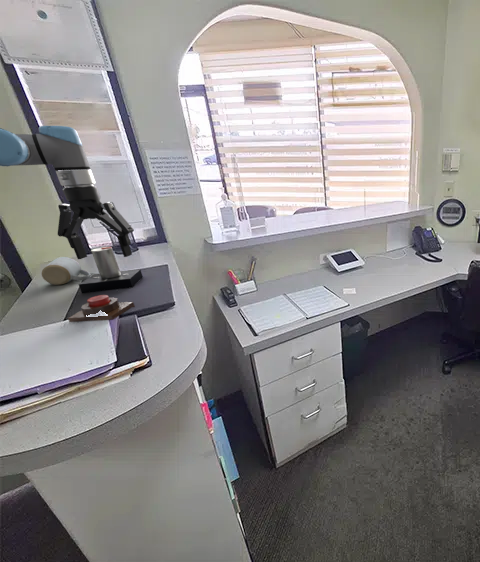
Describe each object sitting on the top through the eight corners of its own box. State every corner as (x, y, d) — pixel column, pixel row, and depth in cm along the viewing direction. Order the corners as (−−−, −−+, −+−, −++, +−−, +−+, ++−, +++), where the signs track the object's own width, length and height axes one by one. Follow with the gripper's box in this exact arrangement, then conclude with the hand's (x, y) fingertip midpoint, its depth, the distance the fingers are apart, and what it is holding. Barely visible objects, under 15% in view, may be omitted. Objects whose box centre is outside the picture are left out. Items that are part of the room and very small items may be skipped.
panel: (81, 293, 93) (78, 284, 92) (97, 282, 102) (93, 273, 101) (132, 287, 97) (129, 278, 96) (143, 277, 106) (140, 268, 105)
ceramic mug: (44, 287, 98) (34, 264, 96) (56, 279, 105) (48, 258, 103) (86, 282, 102) (78, 260, 100) (95, 275, 109) (88, 254, 107)
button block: (71, 326, 74) (64, 311, 73) (96, 311, 82) (91, 297, 80) (114, 323, 75) (109, 309, 73) (135, 309, 82) (131, 295, 81)
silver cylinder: (98, 279, 96) (87, 250, 92) (105, 274, 100) (95, 246, 97) (117, 277, 97) (107, 248, 94) (123, 272, 102) (114, 245, 98)
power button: (85, 308, 75) (82, 301, 74) (97, 301, 79) (95, 295, 78) (102, 307, 75) (100, 300, 75) (114, 300, 79) (112, 294, 78)
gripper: (20, 189, 84) (52, 262, 92) (115, 185, 86) (139, 258, 94) (45, 186, 91) (73, 255, 99) (133, 183, 93) (154, 251, 101)
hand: (105, 257), depth 96 cm, fingers open, 13 cm apart
